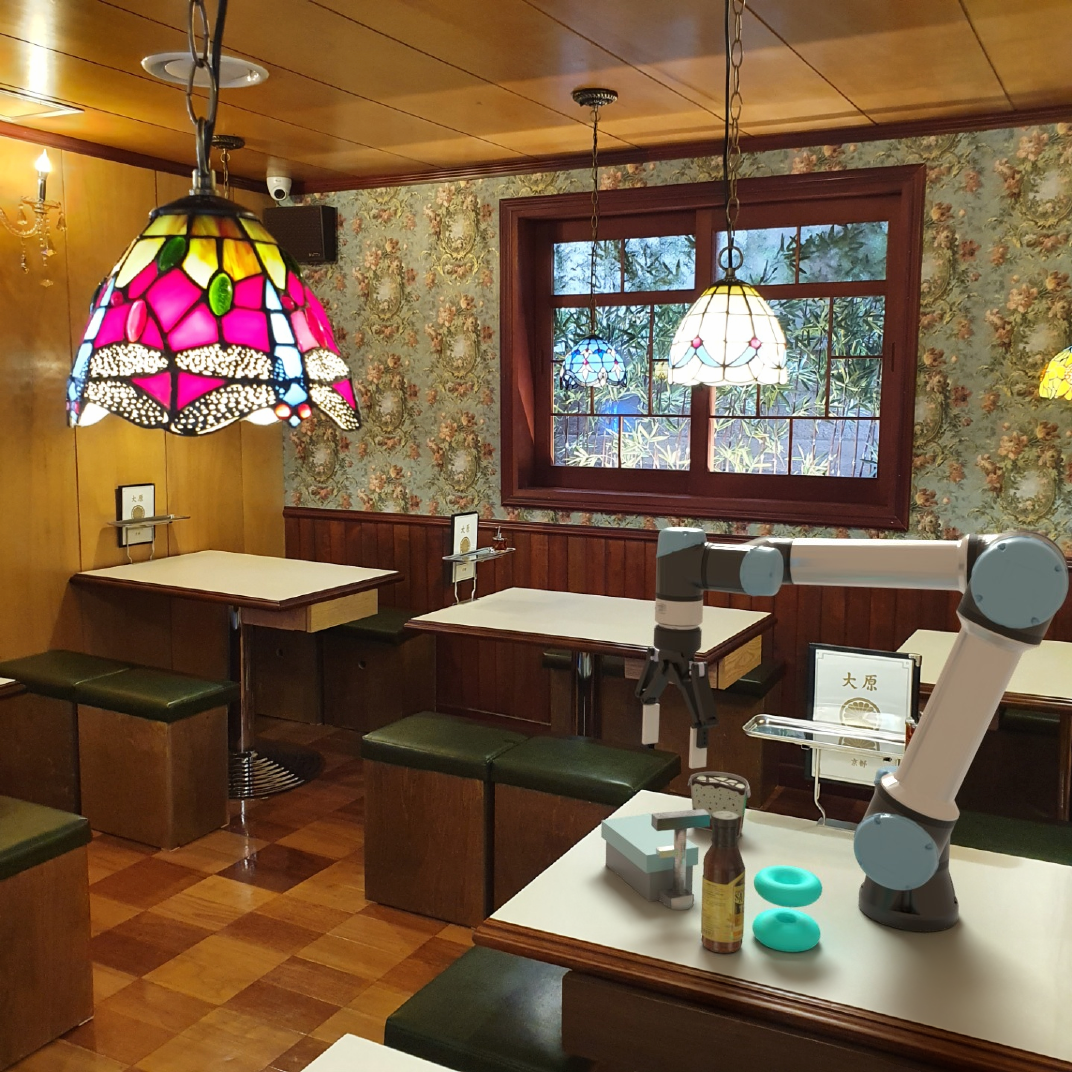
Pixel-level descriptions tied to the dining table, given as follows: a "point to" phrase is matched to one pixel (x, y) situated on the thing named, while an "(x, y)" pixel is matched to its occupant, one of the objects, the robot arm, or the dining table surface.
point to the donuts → (786, 924)
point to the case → (651, 881)
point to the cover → (644, 842)
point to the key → (678, 839)
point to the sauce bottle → (723, 887)
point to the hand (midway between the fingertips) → (672, 754)
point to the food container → (719, 794)
